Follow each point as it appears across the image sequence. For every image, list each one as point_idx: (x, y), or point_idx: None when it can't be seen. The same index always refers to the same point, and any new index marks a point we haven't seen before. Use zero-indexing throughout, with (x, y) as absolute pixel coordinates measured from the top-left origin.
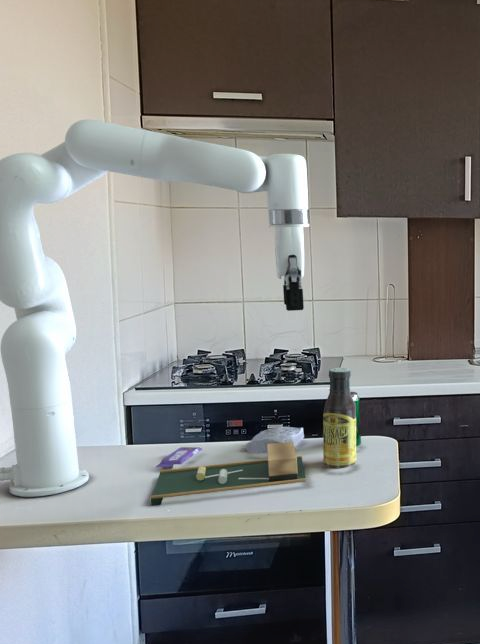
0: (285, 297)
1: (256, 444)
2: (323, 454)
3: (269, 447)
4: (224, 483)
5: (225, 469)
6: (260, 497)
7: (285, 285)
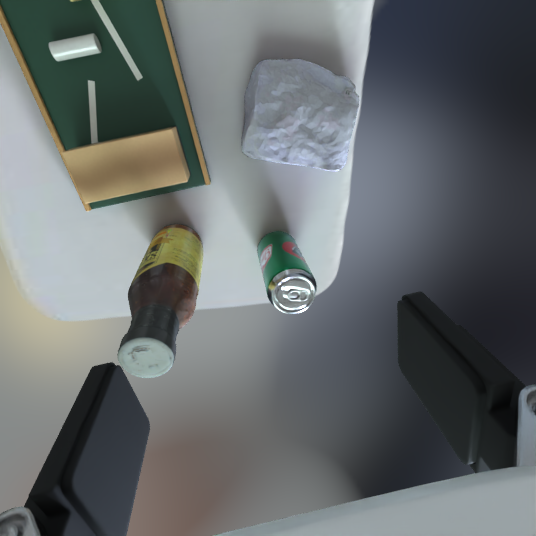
0: (419, 328)
1: (254, 86)
2: (166, 232)
3: (146, 138)
4: None
5: (96, 47)
6: (37, 137)
7: (487, 397)
